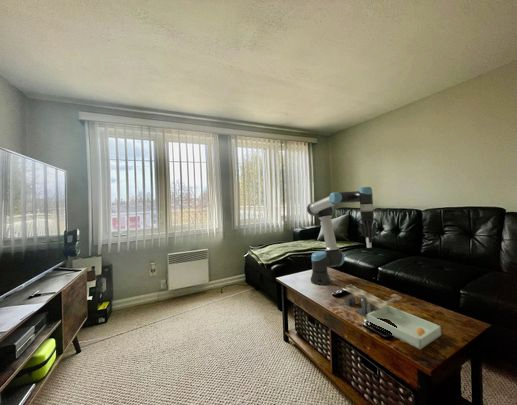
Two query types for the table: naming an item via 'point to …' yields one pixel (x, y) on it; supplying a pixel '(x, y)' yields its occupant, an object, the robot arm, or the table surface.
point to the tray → (405, 326)
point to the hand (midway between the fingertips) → (369, 247)
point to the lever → (371, 297)
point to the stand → (365, 308)
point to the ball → (420, 331)
